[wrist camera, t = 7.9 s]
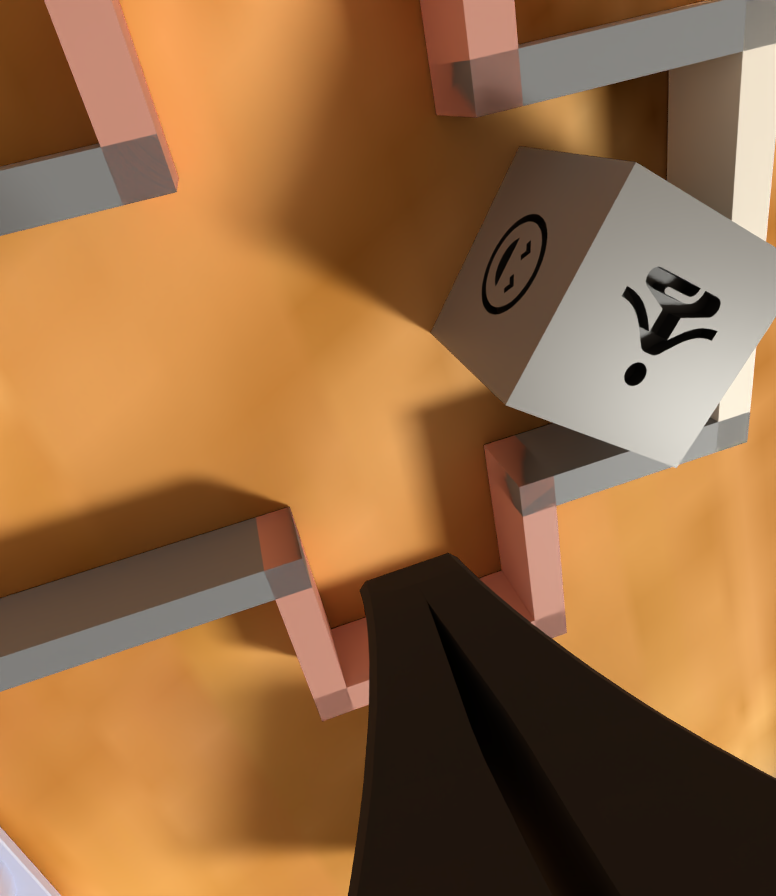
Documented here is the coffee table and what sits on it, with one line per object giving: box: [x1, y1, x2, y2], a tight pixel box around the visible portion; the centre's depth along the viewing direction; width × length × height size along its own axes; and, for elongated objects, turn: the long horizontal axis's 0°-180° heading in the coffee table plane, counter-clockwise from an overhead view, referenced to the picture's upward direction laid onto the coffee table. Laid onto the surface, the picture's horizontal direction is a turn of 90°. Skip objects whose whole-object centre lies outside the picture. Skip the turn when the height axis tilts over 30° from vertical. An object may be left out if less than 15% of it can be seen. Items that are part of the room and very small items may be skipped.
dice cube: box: [431, 146, 776, 468], centre depth 16 cm, size 5×5×5 cm
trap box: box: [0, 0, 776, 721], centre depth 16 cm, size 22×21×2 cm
